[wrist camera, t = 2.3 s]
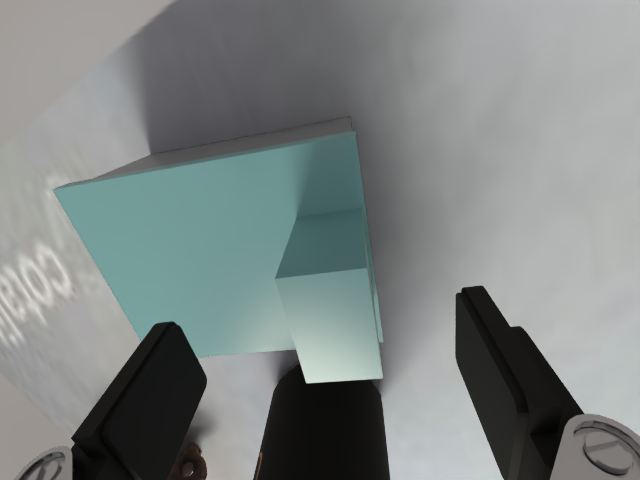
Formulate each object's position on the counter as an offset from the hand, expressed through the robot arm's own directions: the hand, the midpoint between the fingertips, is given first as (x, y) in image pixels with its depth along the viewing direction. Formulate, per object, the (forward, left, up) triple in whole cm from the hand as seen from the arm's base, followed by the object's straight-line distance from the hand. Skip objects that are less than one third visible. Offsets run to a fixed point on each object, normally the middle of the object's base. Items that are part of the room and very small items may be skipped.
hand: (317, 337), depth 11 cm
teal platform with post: (+5, 0, -8) cm, 9 cm away
